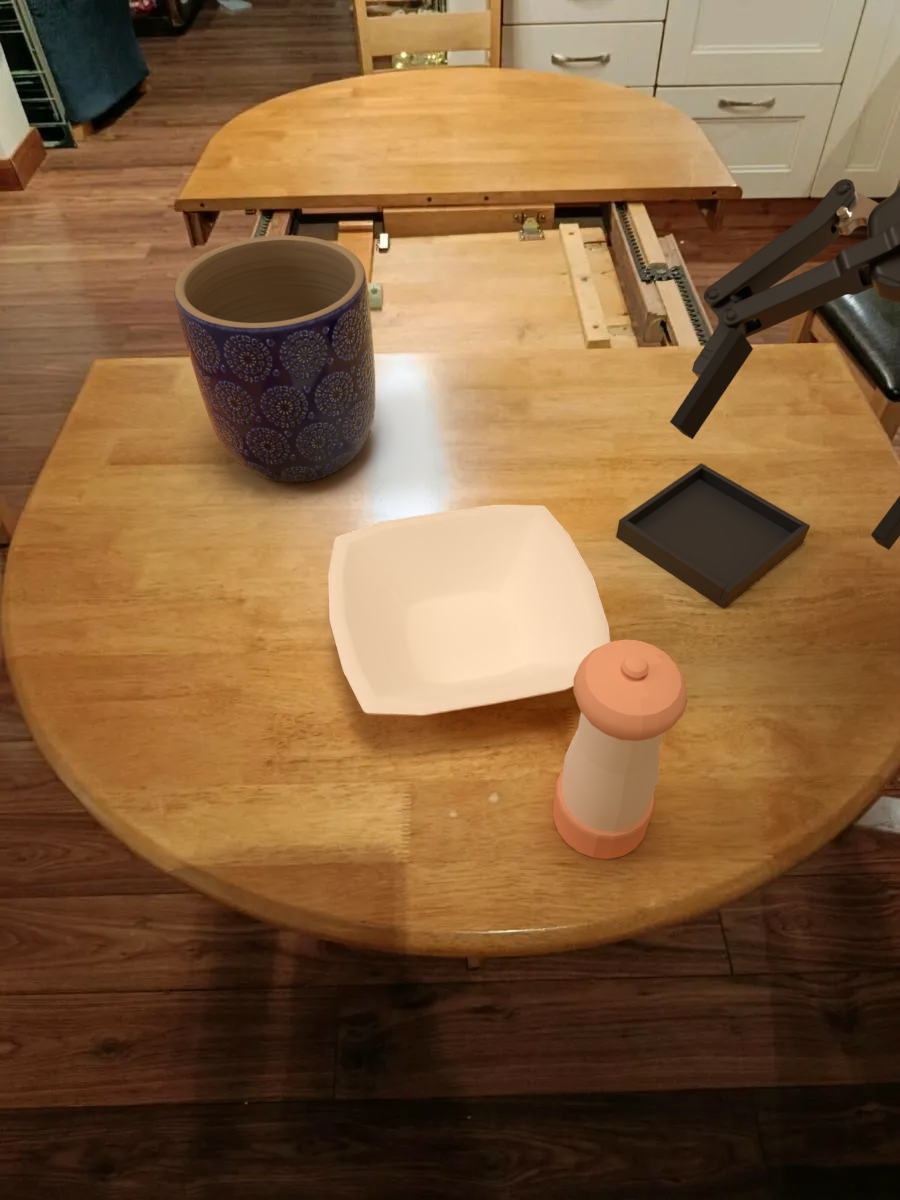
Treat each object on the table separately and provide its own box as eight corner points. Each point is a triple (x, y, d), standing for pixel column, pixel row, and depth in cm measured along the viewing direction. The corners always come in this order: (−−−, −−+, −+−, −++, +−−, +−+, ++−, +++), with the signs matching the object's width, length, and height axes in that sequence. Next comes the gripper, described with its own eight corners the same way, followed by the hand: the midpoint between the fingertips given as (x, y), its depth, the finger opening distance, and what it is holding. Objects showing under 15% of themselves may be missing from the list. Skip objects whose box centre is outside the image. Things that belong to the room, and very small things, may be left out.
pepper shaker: (663, 802, 66) (716, 647, 52) (622, 877, 62) (668, 732, 48) (579, 758, 69) (608, 600, 54) (535, 828, 65) (553, 676, 50)
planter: (350, 516, 89) (326, 339, 73) (190, 488, 92) (135, 313, 77) (402, 414, 100) (391, 243, 85) (259, 392, 104) (223, 225, 88)
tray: (803, 542, 85) (810, 525, 83) (723, 608, 79) (729, 592, 77) (696, 479, 92) (701, 462, 90) (615, 536, 86) (618, 519, 84)
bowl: (627, 717, 71) (637, 676, 67) (352, 768, 68) (345, 728, 64) (552, 536, 86) (557, 494, 82) (324, 572, 83) (316, 529, 79)
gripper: (1263, 254, 42) (982, 607, 47) (819, 121, 55) (633, 409, 59) (1310, 173, 36) (980, 590, 40) (796, 44, 48) (590, 373, 53)
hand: (773, 483), depth 50 cm, fingers open, 13 cm apart
